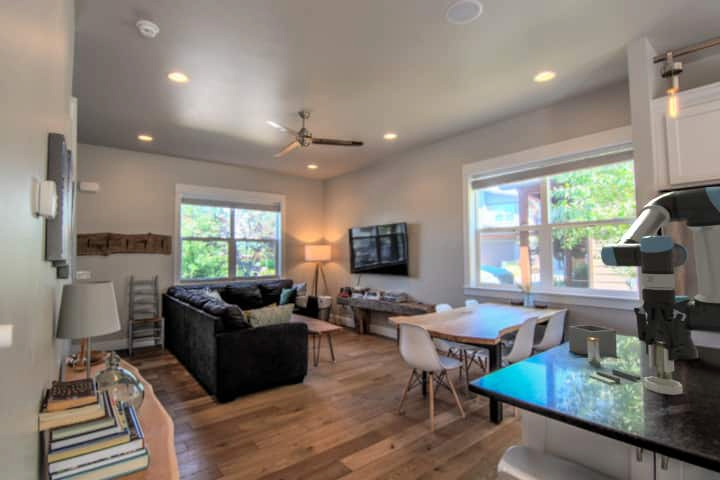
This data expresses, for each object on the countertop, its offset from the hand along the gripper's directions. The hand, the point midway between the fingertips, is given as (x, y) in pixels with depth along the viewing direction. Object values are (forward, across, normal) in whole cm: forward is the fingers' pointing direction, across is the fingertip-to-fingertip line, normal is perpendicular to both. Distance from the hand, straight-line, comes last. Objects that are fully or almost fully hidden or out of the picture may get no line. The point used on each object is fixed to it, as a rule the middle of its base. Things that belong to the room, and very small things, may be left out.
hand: (661, 368), depth 105 cm
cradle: (+7, -11, -4) cm, 14 cm away
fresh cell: (+7, -26, +4) cm, 27 cm away
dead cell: (+2, 0, +1) cm, 3 cm away
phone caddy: (+7, -40, +19) cm, 45 cm away
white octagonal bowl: (+7, 0, 0) cm, 7 cm away
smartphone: (+8, -40, +19) cm, 45 cm away
